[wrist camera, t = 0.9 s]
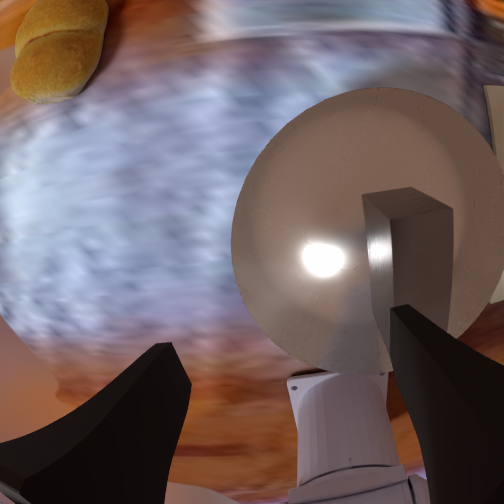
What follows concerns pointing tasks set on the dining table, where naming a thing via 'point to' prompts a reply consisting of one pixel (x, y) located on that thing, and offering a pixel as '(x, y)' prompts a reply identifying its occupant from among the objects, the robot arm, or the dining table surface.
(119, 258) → the dining table surface
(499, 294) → the mat
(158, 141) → the dining table surface
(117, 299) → the dining table surface
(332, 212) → the lid
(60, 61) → the bread roll
